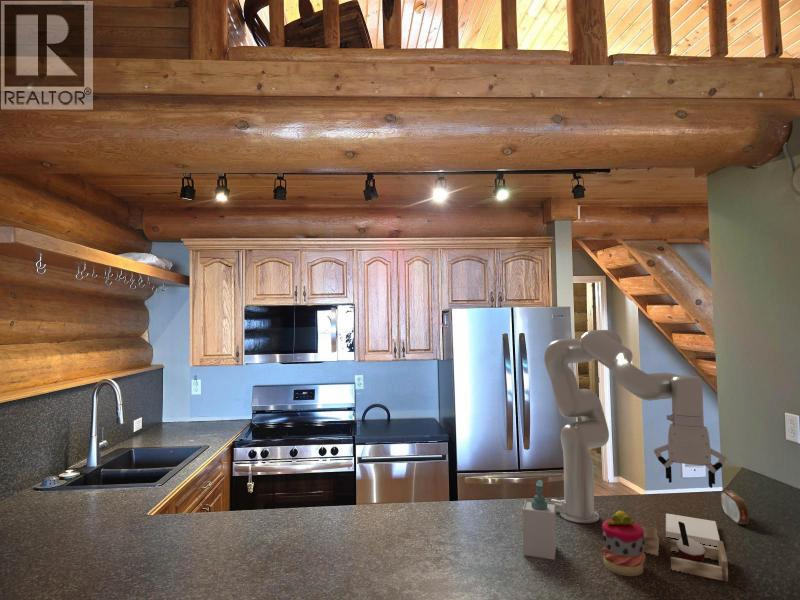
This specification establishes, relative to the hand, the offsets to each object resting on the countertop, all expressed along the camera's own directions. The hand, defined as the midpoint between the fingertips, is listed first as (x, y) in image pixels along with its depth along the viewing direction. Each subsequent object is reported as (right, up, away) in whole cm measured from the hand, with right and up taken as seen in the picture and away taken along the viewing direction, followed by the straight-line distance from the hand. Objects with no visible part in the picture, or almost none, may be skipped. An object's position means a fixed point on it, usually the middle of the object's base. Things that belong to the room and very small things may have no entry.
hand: (690, 483), depth 139 cm
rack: (+1, -21, -1) cm, 22 cm away
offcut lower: (-7, -22, +9) cm, 25 cm away
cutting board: (+11, -22, +19) cm, 32 cm away
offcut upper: (-7, -20, +9) cm, 23 cm away
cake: (-19, -22, -3) cm, 29 cm away
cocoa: (0, -22, -1) cm, 22 cm away
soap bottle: (-39, -22, +7) cm, 46 cm away
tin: (+32, -23, +30) cm, 49 cm away
